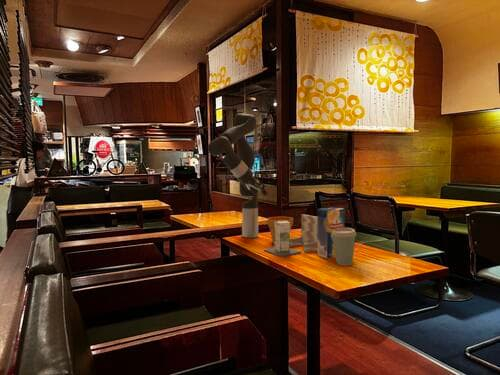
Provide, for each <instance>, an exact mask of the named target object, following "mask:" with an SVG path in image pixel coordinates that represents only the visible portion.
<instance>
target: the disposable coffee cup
mask: <svg viewBox="0 0 500 375" xmlns="http://www.w3.org/2000/svg"><path fill="white" fill-rule="evenodd" d="M331 235H332V239H333V245H334V251H335V256H336V257H335V260H336V264H337V265H338V266H339V265H340V266H344V267H345V266H351V265H352V264H353V260H354V253H355V245H356V237H357V232H356V230H355V229H354V228H352V227H345V228H336V229H334V230H333V231H332V234H331Z"/></svg>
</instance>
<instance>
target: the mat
mask: <svg viewBox="0 0 500 375" xmlns="http://www.w3.org/2000/svg"><path fill="white" fill-rule="evenodd" d="M263 252H265V253H268V254H272V255H275V256H277V257H279V258H285V257H288V256H289V257H291V256H294V255H299V254H301V253H302V251H300V250H296V249H294V248H291V247H290V251H286V252H278V251H276V250H275V249H274V247H271V248H265V249H263Z"/></svg>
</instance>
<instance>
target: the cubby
mask: <svg viewBox="0 0 500 375" xmlns="http://www.w3.org/2000/svg"><path fill="white" fill-rule="evenodd" d="M300 218H301V219H300V222H301V223H300V224H301V226H300V228H301V229H300V230H301V232H300V233H301V236H297V237H293V238H292V237H290V248H291V247H295V246H303V253H309V252H314V251H317V224H318V216H314V215H309V214H302V213H301V217H300Z"/></svg>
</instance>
